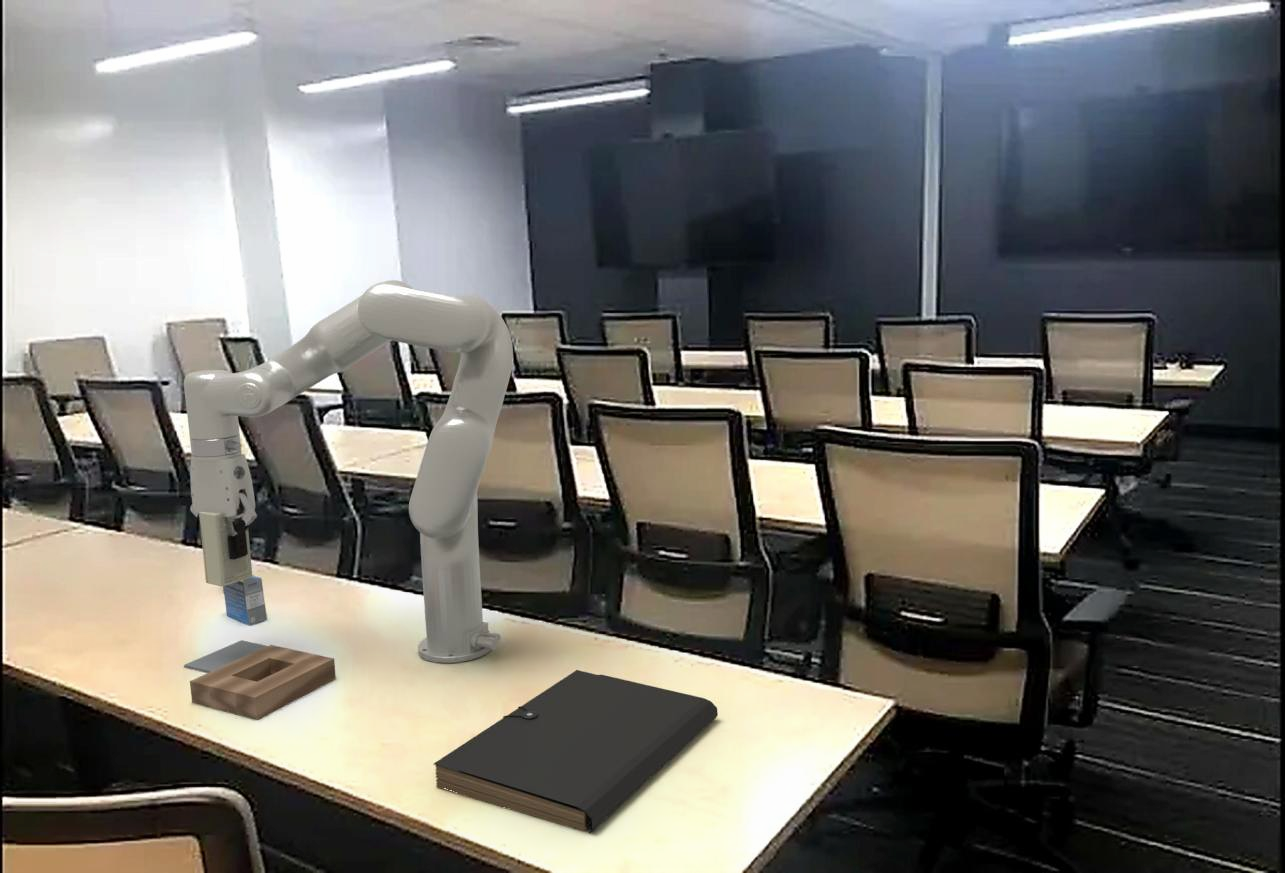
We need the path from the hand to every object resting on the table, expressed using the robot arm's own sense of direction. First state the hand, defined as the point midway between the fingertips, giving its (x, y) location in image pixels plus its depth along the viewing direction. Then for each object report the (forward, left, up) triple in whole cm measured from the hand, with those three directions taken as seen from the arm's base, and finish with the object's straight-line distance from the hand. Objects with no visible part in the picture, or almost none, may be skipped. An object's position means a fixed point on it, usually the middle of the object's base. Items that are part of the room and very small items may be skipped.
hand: (227, 554), depth 175 cm
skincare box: (0, 0, -5) cm, 5 cm away
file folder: (-70, +3, -19) cm, 72 cm away
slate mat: (0, 0, -18) cm, 18 cm away
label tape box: (+15, -15, -19) cm, 28 cm away
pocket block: (-14, +7, -18) cm, 24 cm away
